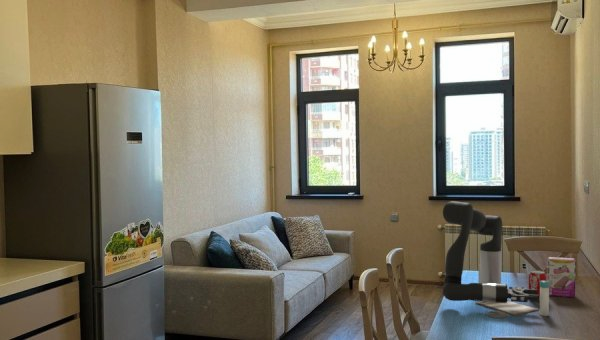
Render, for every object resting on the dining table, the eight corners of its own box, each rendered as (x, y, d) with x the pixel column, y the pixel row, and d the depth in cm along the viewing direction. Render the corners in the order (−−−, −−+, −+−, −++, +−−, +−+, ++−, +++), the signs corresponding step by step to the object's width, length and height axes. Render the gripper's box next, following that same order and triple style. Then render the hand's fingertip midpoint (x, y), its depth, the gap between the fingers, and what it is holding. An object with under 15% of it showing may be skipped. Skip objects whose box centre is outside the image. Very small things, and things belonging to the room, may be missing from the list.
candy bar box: (547, 296, 260) (547, 258, 259) (546, 293, 265) (547, 256, 264) (575, 298, 256) (576, 260, 255) (574, 295, 261) (574, 258, 260)
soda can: (548, 302, 250) (548, 273, 250) (530, 301, 252) (530, 273, 251) (544, 297, 257) (544, 270, 257) (527, 297, 259) (527, 269, 258)
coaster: (482, 314, 234) (482, 312, 234) (496, 311, 238) (496, 309, 238) (497, 319, 227) (497, 318, 227) (512, 316, 231) (512, 314, 231)
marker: (537, 314, 233) (537, 281, 233) (543, 312, 235) (543, 280, 234) (545, 316, 230) (545, 283, 230) (550, 315, 232) (551, 281, 231)
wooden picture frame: (475, 303, 249) (475, 300, 249) (499, 299, 256) (499, 296, 256) (514, 315, 232) (514, 312, 231) (538, 310, 238) (538, 307, 238)
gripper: (495, 287, 230) (540, 290, 226) (493, 279, 244) (536, 281, 239) (495, 307, 230) (540, 309, 226) (493, 297, 244) (536, 300, 240)
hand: (538, 295), depth 233 cm, fingers open, 8 cm apart
